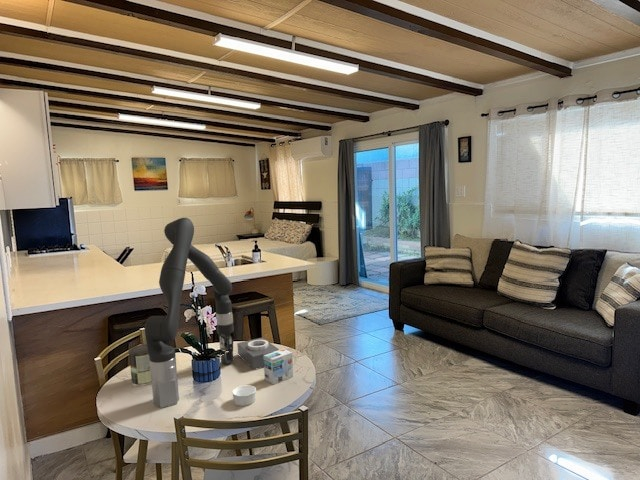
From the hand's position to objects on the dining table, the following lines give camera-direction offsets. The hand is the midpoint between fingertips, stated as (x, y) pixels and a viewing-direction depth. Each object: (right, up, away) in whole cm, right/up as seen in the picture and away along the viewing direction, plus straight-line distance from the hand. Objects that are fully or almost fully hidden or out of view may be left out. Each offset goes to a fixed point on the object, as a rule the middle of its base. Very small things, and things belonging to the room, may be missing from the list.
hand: (226, 357), depth 198 cm
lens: (0, -1, 0) cm, 2 cm away
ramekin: (+14, -7, -35) cm, 38 cm away
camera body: (+14, -2, +4) cm, 15 cm away
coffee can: (-32, -6, -14) cm, 35 cm away
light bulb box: (+25, -4, -17) cm, 31 cm away
